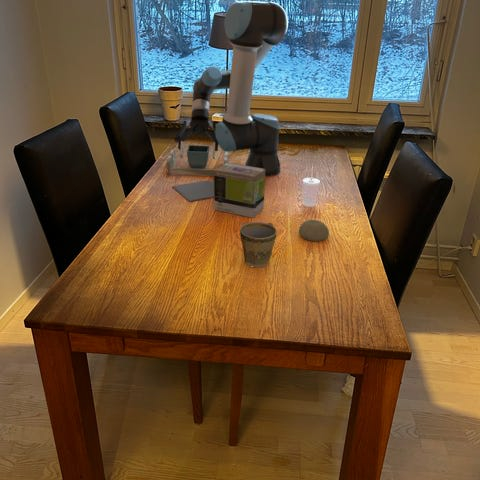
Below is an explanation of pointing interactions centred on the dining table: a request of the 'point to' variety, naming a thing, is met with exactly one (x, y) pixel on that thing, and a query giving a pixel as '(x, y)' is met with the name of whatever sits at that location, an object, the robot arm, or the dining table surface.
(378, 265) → the dining table surface
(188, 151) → the flower pot
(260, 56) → the robot arm
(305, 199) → the beverage cup
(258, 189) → the tea box
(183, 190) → the mat
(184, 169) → the holder
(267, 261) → the ceramic cup
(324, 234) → the sea urchin shell
